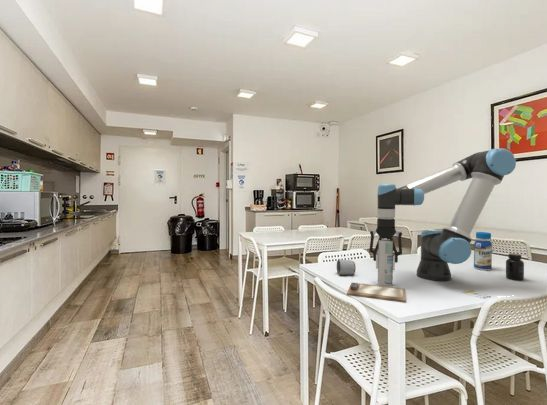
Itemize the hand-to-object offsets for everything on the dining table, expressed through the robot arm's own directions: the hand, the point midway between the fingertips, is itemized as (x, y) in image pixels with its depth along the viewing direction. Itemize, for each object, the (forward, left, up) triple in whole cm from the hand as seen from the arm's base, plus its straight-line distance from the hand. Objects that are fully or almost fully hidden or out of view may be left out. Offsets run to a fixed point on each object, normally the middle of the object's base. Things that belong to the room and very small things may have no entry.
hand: (385, 268), depth 134 cm
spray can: (0, 0, -7) cm, 7 cm away
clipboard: (+3, +14, -7) cm, 16 cm away
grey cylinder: (+20, -10, -7) cm, 23 cm away
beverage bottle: (-49, -50, -7) cm, 70 cm away
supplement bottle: (-58, -33, -7) cm, 67 cm away
